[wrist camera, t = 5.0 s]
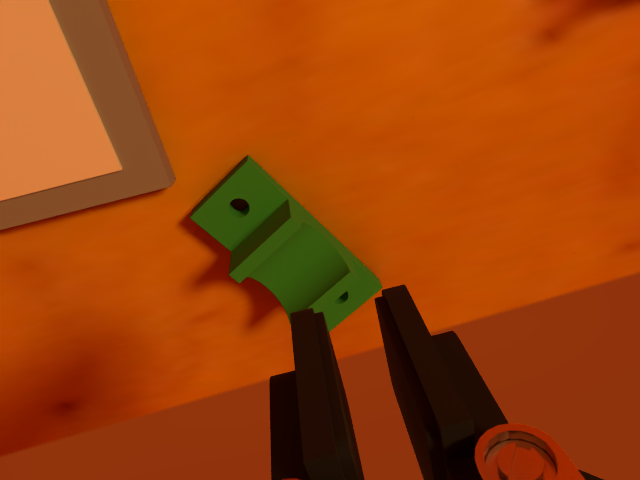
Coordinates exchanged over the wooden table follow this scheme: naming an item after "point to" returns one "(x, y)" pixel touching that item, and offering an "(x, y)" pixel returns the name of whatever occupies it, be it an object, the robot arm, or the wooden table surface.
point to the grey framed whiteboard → (70, 113)
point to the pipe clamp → (284, 246)
